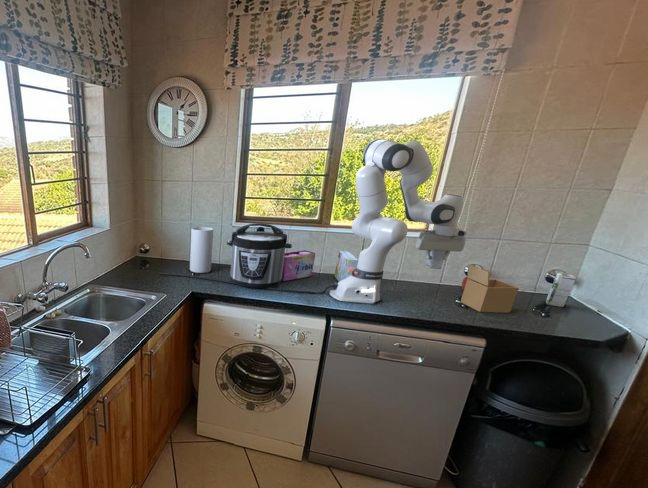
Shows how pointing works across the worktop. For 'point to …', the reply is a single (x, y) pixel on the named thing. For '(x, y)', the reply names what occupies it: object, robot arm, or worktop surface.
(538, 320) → the worktop surface
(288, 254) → the gum box
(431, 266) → the medicine box
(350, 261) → the snack box
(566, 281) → the syrup box
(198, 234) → the cylinder vase
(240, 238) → the pressure cooker
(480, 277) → the flap
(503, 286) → the open cardboard box
